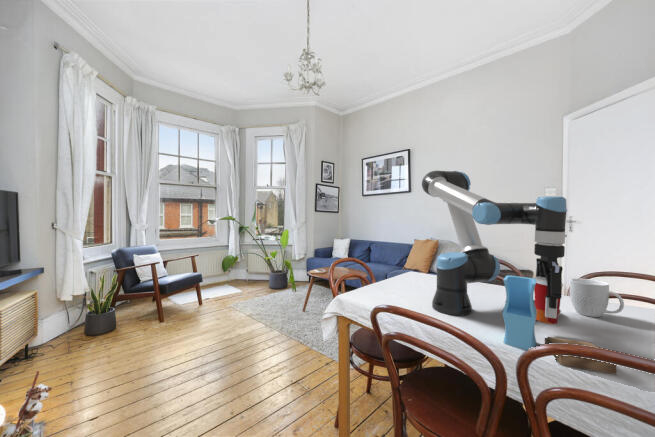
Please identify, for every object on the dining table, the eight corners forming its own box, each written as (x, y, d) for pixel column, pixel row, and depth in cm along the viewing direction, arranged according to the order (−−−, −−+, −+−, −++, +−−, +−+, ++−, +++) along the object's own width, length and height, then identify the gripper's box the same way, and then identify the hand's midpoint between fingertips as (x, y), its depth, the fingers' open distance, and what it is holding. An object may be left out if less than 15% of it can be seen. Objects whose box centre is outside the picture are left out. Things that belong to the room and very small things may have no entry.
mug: (626, 318, 99) (627, 284, 99) (620, 325, 93) (621, 289, 93) (574, 307, 111) (574, 276, 111) (565, 312, 105) (566, 280, 105)
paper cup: (558, 319, 88) (560, 277, 87) (564, 328, 81) (566, 283, 80) (529, 313, 92) (531, 274, 91) (532, 321, 85) (534, 279, 85)
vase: (502, 343, 81) (502, 279, 80) (506, 334, 87) (506, 274, 86) (534, 352, 76) (535, 284, 75) (536, 342, 82) (537, 278, 81)
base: (560, 364, 69) (561, 353, 69) (544, 345, 80) (544, 335, 80) (616, 374, 65) (616, 362, 65) (591, 352, 76) (591, 342, 75)
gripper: (579, 249, 75) (575, 327, 76) (551, 240, 93) (548, 304, 94) (547, 247, 78) (543, 323, 79) (525, 239, 96) (523, 301, 97)
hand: (546, 312), depth 86 cm, fingers closed on paper cup, 6 cm apart
